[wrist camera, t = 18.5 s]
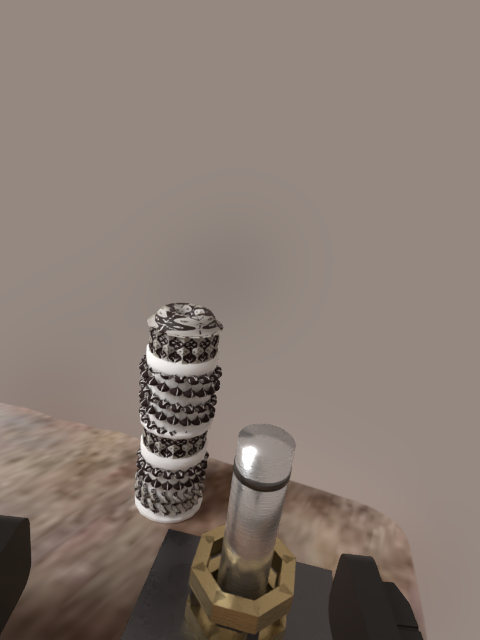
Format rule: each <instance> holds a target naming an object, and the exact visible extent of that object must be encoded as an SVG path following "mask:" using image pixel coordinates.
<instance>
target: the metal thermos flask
mask: <svg viewBox="0 0 480 640" xmlns="http://www.w3.org/2000/svg"><path fill="white" fill-rule="evenodd" d="M294 452H295V441H294V439H293V438H292V436H291V435H290V434H289V433H287V432H286V431H285V430H283V429H281V428H279V427H276V426H273V425H269V424H253V425H249V426H247V427H245V428H243V429H242V430H241V432H240V433H239V437H238V443H237V450H236V456H235V459H234V466H233V477H232V484H231V491H230V497H229V504H228V511H227V518H226V525H225V531H224V538H223V545H222V552H221V559H220V565H219V572H218V579H217V584H218V586H219V587H220V589H221V590H222V592H224V593H228V594H232V595H235V596H239V597H243V598H246V599H250V600H254V601H255V600H257V599H258V598H260V597H262V596H263V595H265V593H266V588H267V583H268V578H269V573H270V568H271V563H272V559H273V554H274V549H275V544H276V539H277V534H278V529H279V525H280V520H281V515H282V510H283V505H284V500H285V495H286V491H287V486H288V482H289V479H290V474H291V466H292V461H293V457H294ZM217 625H218V627H221V628H225V629H228V630H232V631H235V632H239V633H243V631H240V630H237V629H233V628H230V627H226V626H223V625H219V624H217Z"/></svg>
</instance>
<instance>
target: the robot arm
mask: <svg viewBox="0 0 480 640" xmlns="http://www.w3.org/2000/svg"><path fill="white" fill-rule="evenodd" d="M30 568H31V544H30V522H29V519H28V518H22V517H13V516H4V515H0V634H1V632H2V630H3V629H4V627H5V625H6V623H7V621H8V619H9V617H10V615H11V613H12V611H13V609H14V608H15V606H16V604H17V602H18V600H19V598H20V596H21V594H22V592H23V590H24V588H25V586H26V583H27V580H28V577H29V573H30ZM328 613H329V623H330V629H331V634H332V639H333V640H423V637H422V635H421V632H419V630H418V624H417V622H416V619H415V617H414V614H413V611H412V609H411V606H410V604H409V602H408V601H407V600H406V598H405V597H404V596H403V594H402V593H401V592H400V590H399V589H398V588H397V586H396V585H395V584H394V583H392V582H383V581H382V580H381V577H380V574H379V571H378V568H377V565H376V563H375V561H374V559H373V558H372V557H370V556H361V555H352V554H342V555H341V557H340V559H339V563H338V566H337V570H336V574H335V577H334V581H333V584H332V588H331V591H330V595H329V604H328Z"/></svg>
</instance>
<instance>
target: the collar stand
mask: <svg viewBox="0 0 480 640" xmlns="http://www.w3.org/2000/svg"><path fill="white" fill-rule="evenodd" d="M225 525H226V524H224V525H222V526H220V527H217V528H215V529H213V530H211V531H208V532H206V533H204V534H202V536H201V537H198V536H195V535H191V534H187V533H183V532H179V531H175V530H171V529H169V530H168V532H167V534H166V536H165V539H164V541H163V543H162V546H161V548H160V550H159V552H158V555H157V557H156V559H155V562H154V564H153V566H152V568H151V571H150V573H149V575H148V578H147V580H146V582H145V584H144V587H143V589H142V591H141V594H140V596H139V598H138V600H137V603H136V605H135V607H134V610H133V612H132V614H131V616H130V619H129V621H128V623H127V626H126V628H125V630H124V632H123V635H122V637H121V639H120V640H333V639H332V634H331V629H330V623H329V613H328V604H329V595H330V591H331V588H332V571H330V570H326V569H322V568H319V567H315V566H311V565H307V564H303V563H299V562H296V558H295V557H294V555H293V554H292V553H291V552H290V551H289V550H288V548H287V547H286V546H285V545H284V544H283V543H282V541H281V540H280V539H279V538H278V537H277V539H276V544H275V549H274V554H273V559H272V563H271V568H270V573H269V578H268V583H267V588H266V593H265V595H263V596H262V597H260V598H258V599H257V600H255V601H254V600H250V599H246V598H243V597H239V596H235V595H232V594H228V593H224V592H222V590H221V589H220V587H219V586H218V584H217V579H218V572H219V565H220V559H221V552H222V545H223V538H224V531H225ZM217 624H219V625H223V626H226V627H230V628H233V629H237V630H240V631H243V633H239V632H235V631H232V630H228V629H225V628H221V627H218V625H217Z"/></svg>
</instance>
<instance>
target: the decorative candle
mask: <svg viewBox="0 0 480 640" xmlns="http://www.w3.org/2000/svg"><path fill="white" fill-rule="evenodd" d="M147 321H148V325H149V326H150V336H149V337H150V341H149V344H148V345H147V354H146V355H144V356H143V357H142V362H141V363H140V364H139V368H140V369H141V372H140V374H141V378H142V379H141V380H140V387H141V388H142V390H141V391H140V392H139V397H140V398H142V399H141V400H140V404H141V406H142V407H140V409H139V413H140V420H141V424H142V425H143V434H142V436H141V445H140V449H139V450H138V451H137V456H138V457H139V458H138V461H137V463H136V466H137V467H138V470H137V472H136V474H135V479H136V483H135V491H136V493H135V505H136V507H137V508H138V510H139V512H140V513H141V514H142V515H143V516H145V517H146V518H148V519H149V520H151V521H154V522H159V523H163V524H170V523H180V522H182V521H184V520H186V519H189V518H191V517H192V516H193V515H194V514H195V513H196V512H197V511H198V510H199V509H200V506H201V503H202V499H203V494H202V492H201V490H203V489H205V487H204V483H202V482H201V481H202V480H205V479H206V476H205V473H206V471H205V469H206V468H207V458H208V457H209V454H208V452H207V443H208V441H207V437H206V435H207V431H208V429H210V427H211V424H212V421H213V417H214V413H215V408H214V407H213V406H214V405H216V403H217V400H216V398H217V397H216V395H215V394H214V393H215V391H218V390H219V388H220V386H219V385H220V381H219V380H218V378H220V377H221V376H222V372H221V368H220V367H219V366H217V364H218V356H219V352H218V349H217V346H218V343H219V333H221V331H222V329H223V326H222V324H221V322H219V321H218V320H216V318H215V316H214V315H213V313H212V312H211V311H210V310H209V309H206V308H205V307H202V306H199V305H195V304H189V303H172V304H169V305H165V306H163V307H162V308H161V309H160V310H159V311H158V312H157V313H156V314H154V315H152V316H151V317H150V318H149V319H148V320H147ZM147 364H148V365H149V366H147ZM145 366H147V367H148V368H147V369H145ZM214 371H215V372H214ZM146 381H147V382H146ZM212 383H213V384H214V387H212ZM145 396H146V398H145Z"/></svg>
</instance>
